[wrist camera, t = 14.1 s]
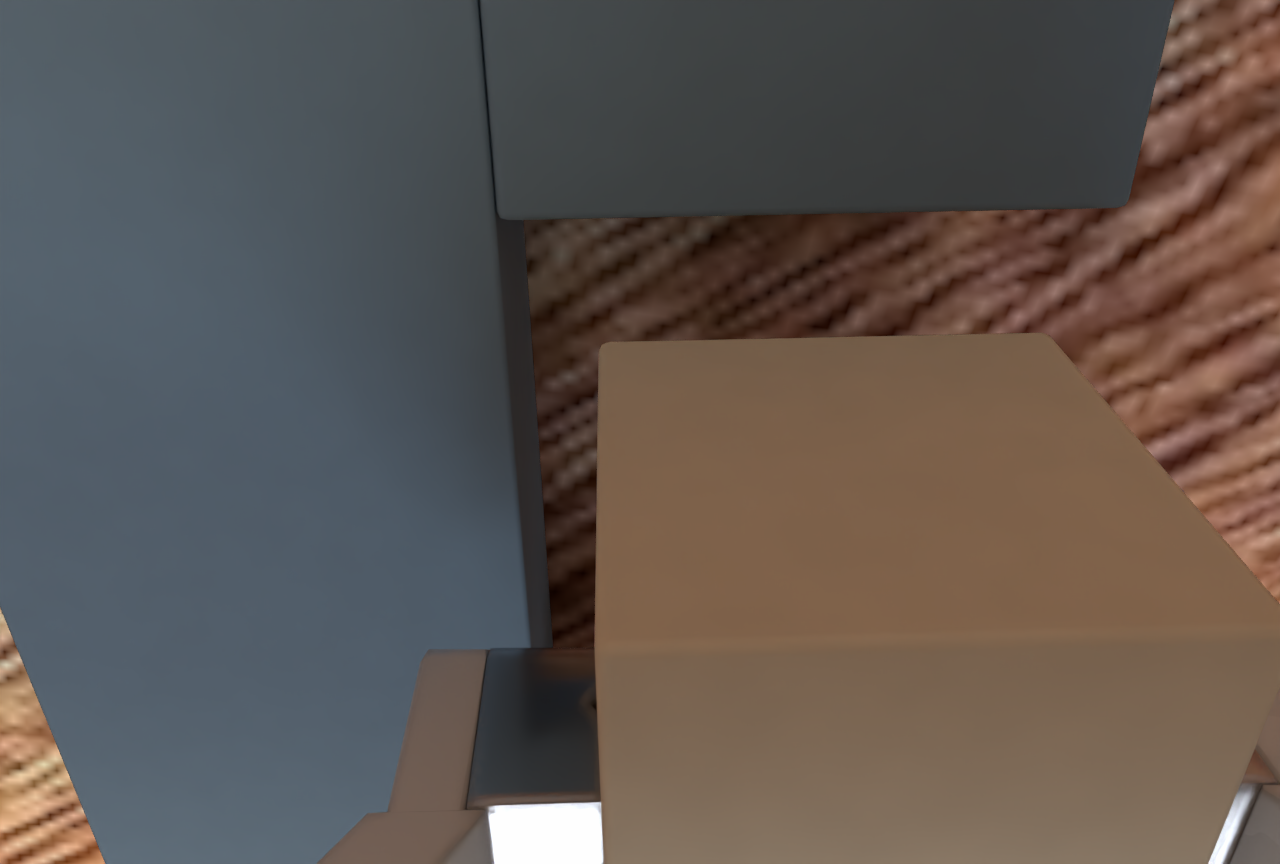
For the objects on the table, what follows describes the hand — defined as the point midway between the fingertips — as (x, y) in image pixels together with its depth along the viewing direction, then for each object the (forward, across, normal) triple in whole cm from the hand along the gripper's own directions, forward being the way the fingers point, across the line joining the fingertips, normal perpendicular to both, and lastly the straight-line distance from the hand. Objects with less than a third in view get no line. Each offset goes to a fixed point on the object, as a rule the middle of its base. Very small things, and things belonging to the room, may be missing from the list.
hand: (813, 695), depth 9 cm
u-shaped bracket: (+4, +2, 0) cm, 5 cm away
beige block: (+1, 0, 0) cm, 1 cm away
